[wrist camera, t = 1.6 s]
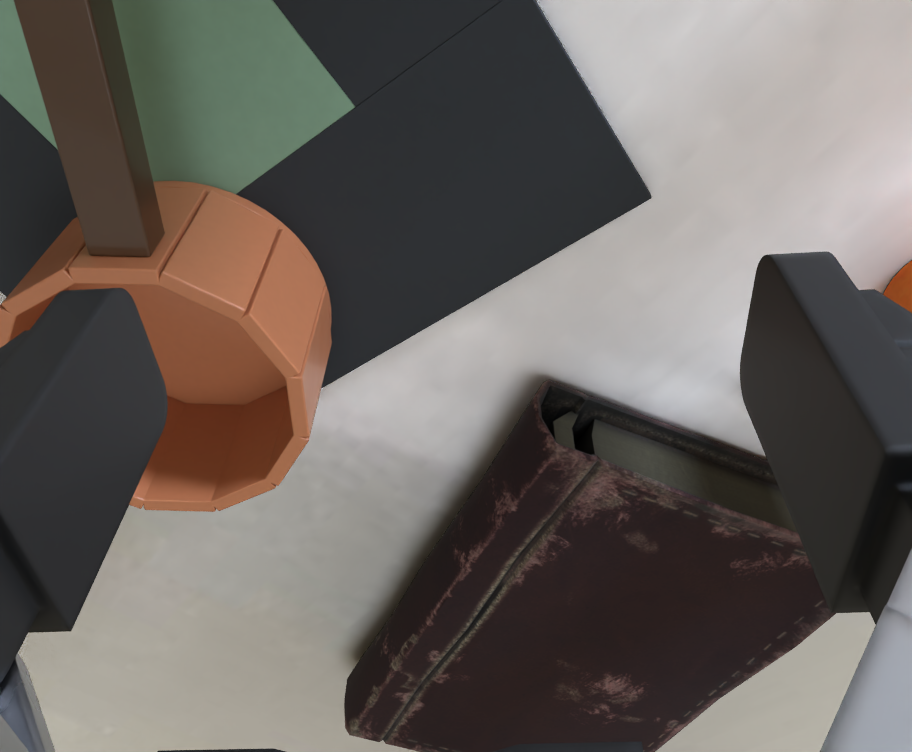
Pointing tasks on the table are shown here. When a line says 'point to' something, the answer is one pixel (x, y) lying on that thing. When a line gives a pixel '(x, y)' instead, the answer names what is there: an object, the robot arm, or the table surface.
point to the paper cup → (901, 287)
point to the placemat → (348, 144)
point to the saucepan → (176, 277)
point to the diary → (590, 591)
